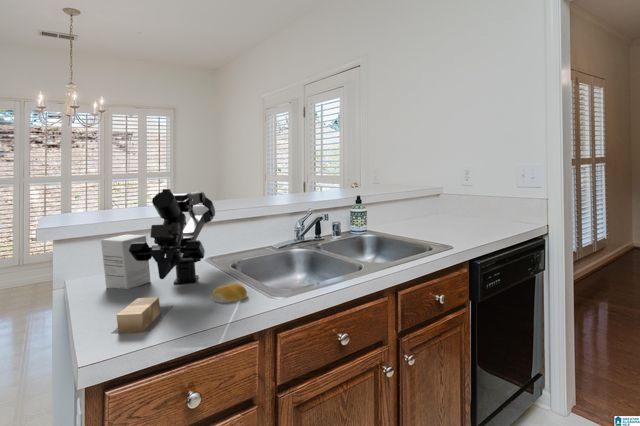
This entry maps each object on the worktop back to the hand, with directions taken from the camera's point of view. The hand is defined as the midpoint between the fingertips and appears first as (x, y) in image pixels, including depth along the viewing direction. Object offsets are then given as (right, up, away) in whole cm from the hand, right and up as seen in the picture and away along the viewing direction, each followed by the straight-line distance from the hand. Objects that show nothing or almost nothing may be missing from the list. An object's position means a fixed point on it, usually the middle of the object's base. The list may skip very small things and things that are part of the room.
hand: (161, 278), depth 96 cm
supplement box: (-17, -5, +17) cm, 25 cm away
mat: (+1, -8, -10) cm, 13 cm away
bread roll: (+17, -6, +3) cm, 18 cm away
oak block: (0, -5, -8) cm, 9 cm away
